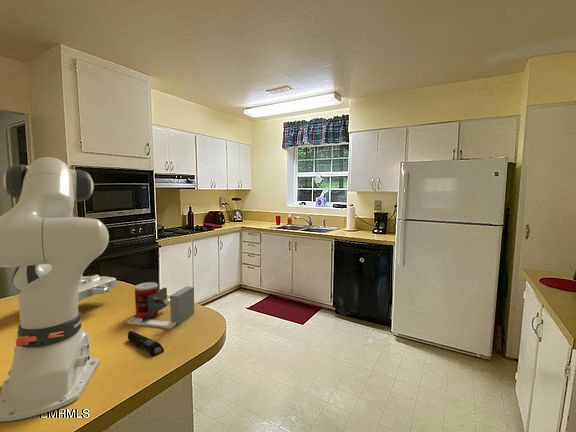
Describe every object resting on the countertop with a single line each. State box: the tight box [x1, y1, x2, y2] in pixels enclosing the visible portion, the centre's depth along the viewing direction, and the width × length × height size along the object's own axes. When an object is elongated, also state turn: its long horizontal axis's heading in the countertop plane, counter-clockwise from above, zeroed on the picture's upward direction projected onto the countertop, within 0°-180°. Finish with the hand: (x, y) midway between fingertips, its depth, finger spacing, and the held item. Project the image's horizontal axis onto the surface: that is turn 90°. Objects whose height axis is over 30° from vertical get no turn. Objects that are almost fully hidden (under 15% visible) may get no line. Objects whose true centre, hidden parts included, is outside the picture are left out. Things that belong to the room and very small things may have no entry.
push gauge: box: [126, 286, 195, 329], centre depth 104 cm, size 18×13×10 cm
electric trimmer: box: [127, 330, 165, 357], centre depth 86 cm, size 4×16×3 cm, turn 55°
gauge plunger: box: [143, 287, 170, 321], centre depth 104 cm, size 7×12×8 cm, turn 167°
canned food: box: [134, 281, 159, 318], centre depth 107 cm, size 8×8×11 cm
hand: (107, 290), depth 111 cm, fingers closed
